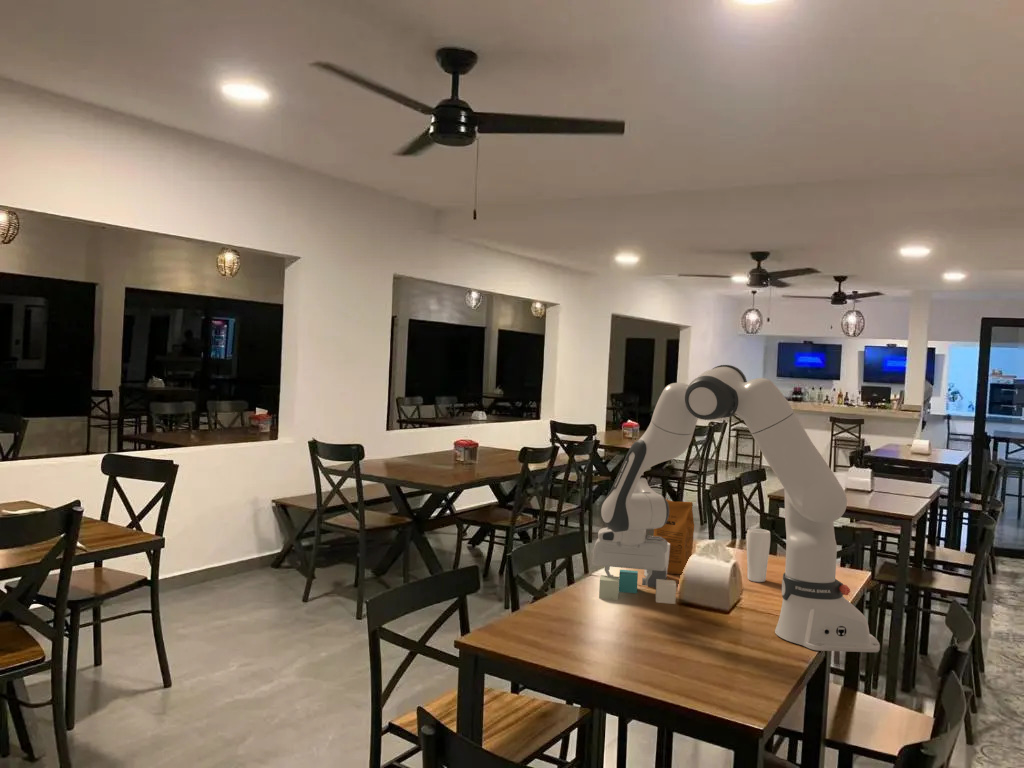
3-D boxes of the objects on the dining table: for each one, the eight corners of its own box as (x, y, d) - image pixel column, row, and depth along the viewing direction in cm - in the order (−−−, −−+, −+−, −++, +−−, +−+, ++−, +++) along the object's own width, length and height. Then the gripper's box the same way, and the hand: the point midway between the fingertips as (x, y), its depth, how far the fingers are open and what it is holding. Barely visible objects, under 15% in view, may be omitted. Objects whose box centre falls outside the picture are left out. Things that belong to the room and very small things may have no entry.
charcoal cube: (664, 583, 221) (665, 566, 221) (665, 588, 216) (666, 570, 216) (647, 582, 222) (648, 565, 222) (647, 586, 217) (648, 569, 217)
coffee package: (660, 563, 245) (663, 495, 244) (696, 571, 237) (699, 500, 237) (645, 569, 237) (648, 498, 237) (682, 577, 229) (686, 504, 229)
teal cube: (636, 588, 214) (637, 571, 214) (636, 593, 210) (637, 575, 209) (619, 587, 215) (619, 569, 215) (618, 592, 210) (619, 574, 210)
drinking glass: (771, 583, 226) (773, 533, 225) (748, 582, 226) (750, 532, 225) (764, 577, 232) (766, 528, 232) (741, 576, 232) (744, 527, 232)
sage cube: (618, 595, 207) (619, 576, 207) (617, 600, 202) (618, 581, 202) (599, 593, 208) (600, 575, 208) (598, 598, 203) (599, 579, 203)
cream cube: (674, 599, 206) (675, 580, 206) (675, 604, 201) (676, 585, 201) (655, 597, 207) (656, 579, 207) (656, 602, 202) (656, 583, 202)
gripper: (667, 534, 214) (665, 583, 214) (594, 529, 217) (592, 577, 217) (668, 539, 207) (665, 589, 207) (593, 533, 211) (590, 583, 211)
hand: (627, 583), depth 212 cm, fingers open, 8 cm apart
